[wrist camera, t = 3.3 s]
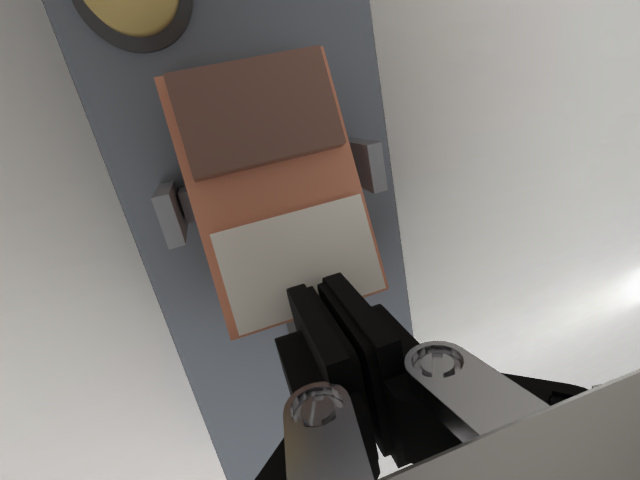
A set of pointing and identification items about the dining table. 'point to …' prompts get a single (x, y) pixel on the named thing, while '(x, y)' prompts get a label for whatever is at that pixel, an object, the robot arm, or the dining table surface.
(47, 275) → the dining table surface
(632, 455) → the robot arm
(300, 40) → the console
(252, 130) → the rocker
